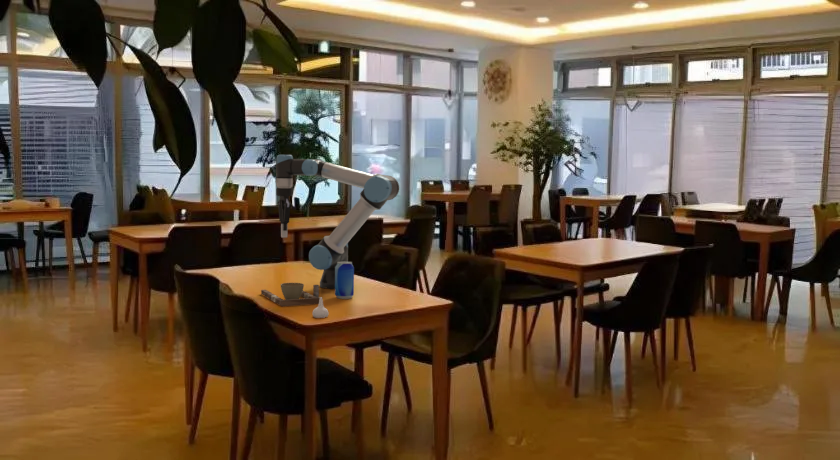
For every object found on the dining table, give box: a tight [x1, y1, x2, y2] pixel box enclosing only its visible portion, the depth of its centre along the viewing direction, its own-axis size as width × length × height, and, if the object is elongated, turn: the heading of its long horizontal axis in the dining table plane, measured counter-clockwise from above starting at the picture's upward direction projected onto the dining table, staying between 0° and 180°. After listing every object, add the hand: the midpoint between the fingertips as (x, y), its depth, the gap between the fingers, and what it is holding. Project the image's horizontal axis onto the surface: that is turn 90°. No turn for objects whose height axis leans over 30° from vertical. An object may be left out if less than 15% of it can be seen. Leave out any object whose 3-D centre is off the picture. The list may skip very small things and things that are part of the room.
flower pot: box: [280, 282, 305, 300], centre depth 343 cm, size 10×10×7 cm
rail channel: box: [260, 284, 320, 307], centre depth 347 cm, size 32×21×6 cm, turn 27°
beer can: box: [334, 260, 355, 300], centre depth 352 cm, size 8×8×16 cm
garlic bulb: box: [311, 296, 330, 319], centre depth 310 cm, size 6×6×8 cm
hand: (284, 237), depth 372 cm, fingers closed
